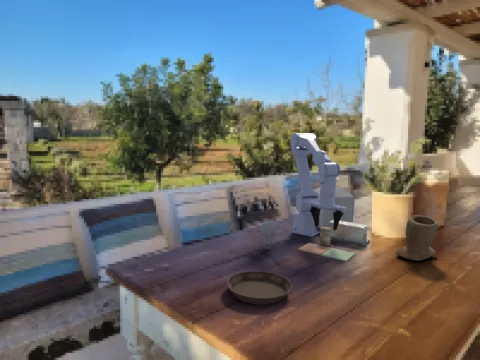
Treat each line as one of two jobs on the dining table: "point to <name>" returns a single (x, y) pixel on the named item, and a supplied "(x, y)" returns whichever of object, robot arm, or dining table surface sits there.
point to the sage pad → (338, 254)
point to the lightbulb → (267, 233)
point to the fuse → (325, 236)
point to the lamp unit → (349, 233)
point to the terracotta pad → (314, 249)
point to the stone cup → (419, 238)
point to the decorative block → (342, 200)
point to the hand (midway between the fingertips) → (325, 227)
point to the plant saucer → (259, 287)
